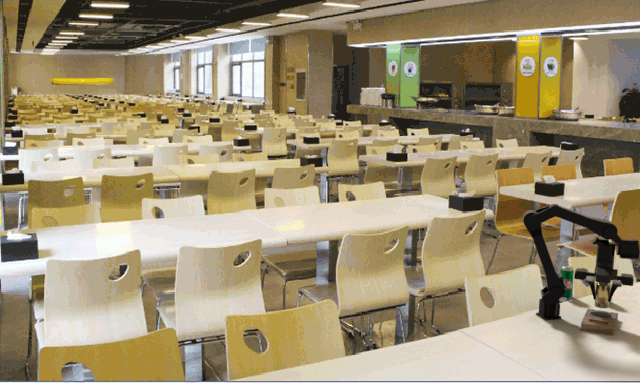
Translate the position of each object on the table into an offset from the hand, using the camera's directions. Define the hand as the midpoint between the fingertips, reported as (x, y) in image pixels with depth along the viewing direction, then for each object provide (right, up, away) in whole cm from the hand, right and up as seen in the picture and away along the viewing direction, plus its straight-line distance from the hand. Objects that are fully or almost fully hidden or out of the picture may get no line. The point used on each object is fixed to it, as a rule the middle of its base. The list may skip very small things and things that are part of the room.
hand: (601, 300), depth 226 cm
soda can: (-1, -4, +31) cm, 31 cm away
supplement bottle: (+11, -5, +24) cm, 27 cm away
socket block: (-2, -8, -2) cm, 9 cm away
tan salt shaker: (0, -2, 0) cm, 2 cm away
